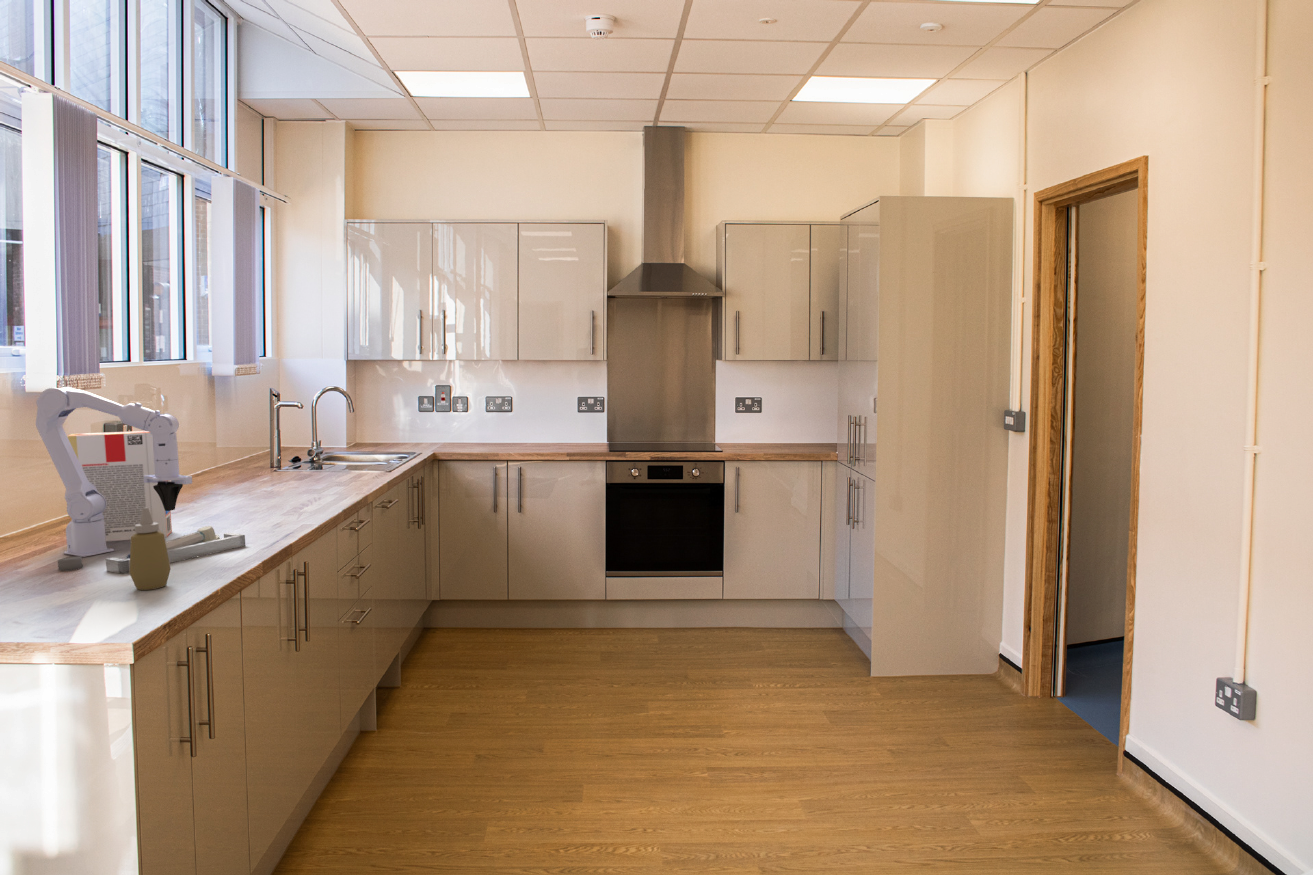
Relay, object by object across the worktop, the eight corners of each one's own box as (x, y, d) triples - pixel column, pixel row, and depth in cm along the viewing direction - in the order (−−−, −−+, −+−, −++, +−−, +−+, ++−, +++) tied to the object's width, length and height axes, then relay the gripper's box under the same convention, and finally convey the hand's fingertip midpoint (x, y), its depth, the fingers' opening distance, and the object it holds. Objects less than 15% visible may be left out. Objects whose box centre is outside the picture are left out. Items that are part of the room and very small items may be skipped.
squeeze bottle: (128, 593, 196) (121, 512, 195) (133, 585, 204) (127, 506, 202) (170, 589, 200) (164, 509, 198) (173, 580, 207) (167, 503, 205)
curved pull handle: (106, 570, 218) (105, 558, 217) (229, 543, 246) (229, 532, 246) (122, 573, 214) (121, 561, 214) (245, 545, 243) (244, 534, 243)
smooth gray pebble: (55, 569, 220) (53, 559, 220) (77, 565, 224) (76, 555, 224) (63, 572, 217) (62, 561, 217) (86, 567, 221) (85, 557, 221)
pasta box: (171, 531, 265) (164, 430, 262) (167, 536, 257) (159, 432, 254) (82, 538, 257) (73, 433, 254) (74, 543, 250) (65, 436, 247)
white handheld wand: (122, 552, 220) (206, 520, 243) (127, 578, 222) (211, 543, 244) (137, 554, 218) (221, 521, 241) (142, 580, 220) (225, 545, 242)
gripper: (132, 460, 238) (136, 511, 239) (175, 462, 233) (179, 513, 234) (154, 457, 244) (158, 507, 246) (197, 458, 240) (200, 509, 241)
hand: (169, 510), depth 241 cm, fingers closed
